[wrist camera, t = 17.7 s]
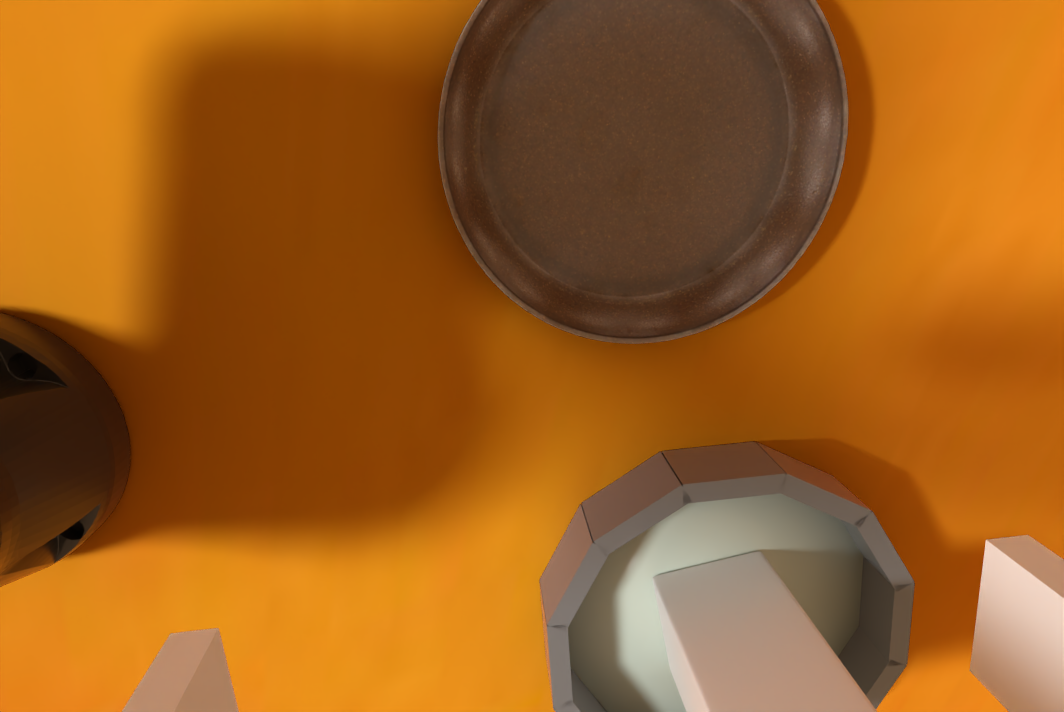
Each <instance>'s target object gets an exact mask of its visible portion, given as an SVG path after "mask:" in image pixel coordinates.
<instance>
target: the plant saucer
mask: <svg viewBox="0 0 1064 712" xmlns="http://www.w3.org/2000/svg"><path fill="white" fill-rule="evenodd" d="M847 134H848V96H847V88H846V81H845V75H844V70H843V65H842V61H841V58H840V55H839V51H838V47H837V44H836V41H835V38H834V36H833V33H832V32H831V29H830V26H829V24H828V22H827V20H826V18H825V16H824V14H823V12H822V10H821V8H820V7H819V5H818V3H817V2H816V0H481V1H480V2H479V4H478V6H477V7H476V9H475V10H474V12H473V13H472V15H471V17H470V19H469V20H468V22H467V23H466V25H465V27H464V29H463V31H462V33H461V35H460V37H459V40H458V42H457V44H456V47H455V49H454V52H453V54H452V57H451V60H450V63H449V66H448V69H447V73H446V77H445V80H444V84H443V89H442V95H441V101H440V108H439V118H438V155H439V164H440V171H441V177H442V182H443V187H444V191H445V195H446V198H447V202H448V205H449V208H450V211H451V214H452V216H453V219H454V222H455V224H456V226H457V228H458V230H459V232H460V234H461V236H462V238H463V240H464V242H465V244H466V246H467V248H468V249H469V251H470V253H471V254H472V256H473V257H474V259H475V260H476V262H477V263H478V264H479V266H480V267H481V268H482V269H483V271H484V272H485V273H486V275H487V276H488V277H489V278H490V279H491V280H492V281H493V282H494V283H495V284H496V286H497V287H498V288H499V289H500V290H501V291H502V292H503V293H505V294H506V295H507V296H508V297H509V298H510V299H511V300H513V301H514V302H515V303H516V304H518V305H519V306H520V307H522V308H523V309H524V310H526V311H528V312H529V313H531V314H532V315H534V316H535V317H537V318H539V319H541V320H542V321H544V322H546V323H548V324H550V325H552V326H554V327H556V328H559V329H561V330H564V331H566V332H569V333H572V334H575V335H578V336H581V337H585V338H589V339H594V340H599V341H604V342H614V343H629V344H640V343H653V342H662V341H669V340H673V339H678V338H682V337H685V336H689V335H692V334H696V333H699V332H701V331H704V330H707V329H709V328H712V327H714V326H716V325H718V324H720V323H722V322H724V321H726V320H728V319H730V318H732V317H734V316H735V315H737V314H739V313H740V312H742V311H743V310H745V309H746V308H748V307H750V306H751V305H752V304H754V303H755V302H756V301H758V300H759V299H760V298H762V297H763V296H764V295H765V294H767V293H768V292H769V291H770V290H771V289H772V288H773V287H775V286H776V285H777V284H778V283H779V282H780V281H781V280H782V279H783V278H784V277H785V275H786V274H787V273H788V272H789V271H790V270H791V269H792V268H793V266H794V265H795V264H796V262H797V261H798V260H799V259H800V257H801V256H802V255H803V253H804V252H805V250H806V249H807V248H808V246H809V245H810V244H811V242H812V240H813V238H814V237H815V235H816V233H817V231H818V230H819V228H820V226H821V224H822V222H823V220H824V218H825V216H826V214H827V211H828V210H829V207H830V205H831V203H832V200H833V197H834V194H835V191H836V189H837V186H838V182H839V179H840V175H841V171H842V167H843V162H844V156H845V149H846V142H847Z"/></svg>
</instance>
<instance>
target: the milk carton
mask: <svg viewBox="0 0 1064 712" xmlns="http://www.w3.org/2000/svg"><path fill="white" fill-rule="evenodd" d="M652 580H653V585H654V590H655V595H656V601H657V606H658V611H659V616H660V621H661V626H662V631H663V636H664V642H665V647H666V652H667V657H668V662H669V667H670V670H671V673H672V676H673V678H674V681H675V683H676V686H677V689H678V691H679V694H680V696H681V699H682V702H683V704H684V707H685V709H686V712H877V711H876V709H875V708H874V706H873V705H872V704H871V702H870V701H869V700H868V698H867V697H866V695H865V694H864V693H863V691H862V690H861V688H860V687H859V686H858V684H857V683H856V682H855V680H854V679H853V677H852V676H851V675H850V673H849V672H848V671H847V669H846V668H845V666H844V665H843V664H842V662H841V661H840V659H839V658H838V657H837V655H836V654H835V653H834V651H833V650H832V648H831V647H830V646H829V644H828V643H827V641H826V640H825V639H824V637H823V636H822V635H821V633H820V632H819V630H818V629H817V628H816V626H815V625H814V624H813V622H812V621H811V619H810V618H809V617H808V615H807V614H806V612H805V611H804V610H803V608H802V607H801V606H800V604H799V603H798V601H797V600H796V599H795V597H794V596H793V594H792V593H791V592H790V590H789V589H788V588H787V586H786V585H785V583H784V582H783V581H782V579H781V578H780V577H779V575H778V574H777V572H776V571H775V570H774V568H773V567H772V565H771V564H770V563H769V561H768V560H767V559H766V557H765V556H764V554H763V553H762V552H760V551H757V552H752V553H747V554H743V555H739V556H735V557H731V558H727V559H722V560H718V561H714V562H710V563H706V564H702V565H697V566H693V567H689V568H685V569H681V570H677V571H673V572H668V573H664V574H660V575H657V576H654V577H653V578H652Z"/></svg>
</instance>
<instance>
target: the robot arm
mask: <svg viewBox="0 0 1064 712" xmlns="http://www.w3.org/2000/svg"><path fill="white" fill-rule="evenodd" d="M129 468H130V441H129V435H128V430H127V426H126V423H125V419H124V416H123V414H122V411H121V409H120V406H119V404H118V402H117V400H116V398H115V396H114V395H113V393H112V391H111V390H110V388H109V387H108V385H107V384H106V382H105V381H104V379H103V378H102V377H101V376H100V374H99V373H98V372H97V371H96V370H95V368H94V367H93V366H92V365H91V364H90V363H89V362H88V361H87V360H86V359H85V358H84V357H83V356H82V355H81V354H79V353H78V352H77V351H76V350H75V349H74V348H72V347H71V346H70V345H68V344H67V343H66V342H64V341H63V340H61V339H60V338H58V337H57V336H55V335H53V334H52V333H50V332H48V331H46V330H45V329H43V328H41V327H39V326H37V325H34V324H32V323H30V322H27V321H25V320H22V319H20V318H17V317H14V316H11V315H7V314H4V313H0V587H1V586H4V585H6V584H8V583H11V582H13V581H16V580H18V579H20V578H23V577H25V576H28V575H30V574H33V573H35V572H37V571H40V570H42V569H44V568H47V567H49V566H51V565H53V564H55V563H56V562H58V561H60V560H61V559H63V558H64V557H66V556H68V555H69V554H70V553H72V552H73V551H74V550H76V549H77V548H78V547H79V546H81V545H82V544H83V543H84V542H85V541H86V540H87V539H88V538H89V537H90V536H91V535H92V534H93V533H94V532H95V531H96V530H97V529H98V528H99V527H100V526H101V525H102V524H103V523H104V522H105V521H106V520H107V518H108V517H109V516H110V515H111V513H112V512H113V510H114V509H115V507H116V506H117V504H118V502H119V500H120V498H121V496H122V494H123V492H124V489H125V486H126V483H127V479H128V475H129ZM970 671H971V672H972V673H973V675H974V676H975V677H976V678H977V679H978V680H979V681H980V682H981V683H982V684H983V685H984V686H985V687H986V688H987V689H988V690H989V691H990V692H991V693H992V694H993V695H994V696H995V697H996V699H997V700H998V701H999V702H1000V703H1001V704H1002V705H1003V706H1004V707H1005V708H1006V709H1007V710H1008V711H1009V712H1064V559H1062V558H1061V557H1059V556H1058V555H1056V554H1055V553H1053V552H1052V551H1051V550H1049V549H1048V548H1046V547H1045V546H1043V545H1042V544H1040V543H1039V542H1037V541H1036V540H1035V539H1033V538H1032V537H1030V536H1029V535H1022V536H1014V537H1005V538H996V539H988V540H986V544H985V552H984V560H983V568H982V576H981V584H980V592H979V600H978V608H977V616H976V624H975V632H974V640H973V648H972V656H971V664H970ZM122 712H239V711H238V707H237V703H236V699H235V695H234V690H233V686H232V682H231V678H230V674H229V670H228V665H227V661H226V657H225V653H224V649H223V645H222V640H221V636H220V632H219V628H215V629H206V630H197V631H189V632H180V633H171V634H170V635H169V637H168V639H167V640H166V642H165V643H164V645H163V647H162V648H161V650H160V651H159V653H158V655H157V656H156V658H155V659H154V661H153V663H152V664H151V666H150V667H149V669H148V671H147V672H146V674H145V675H144V677H143V679H142V680H141V682H140V683H139V685H138V687H137V688H136V690H135V691H134V693H133V695H132V696H131V698H130V699H129V701H128V703H127V704H126V706H125V707H124V709H123V711H122Z"/></svg>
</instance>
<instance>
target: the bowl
mask: <svg viewBox="0 0 1064 712" xmlns="http://www.w3.org/2000/svg"><path fill="white" fill-rule="evenodd" d="M757 551H760V552H762V553H763V554H764V556H765V557H766V559H767V560H768V561H769V563H770V564H771V565H772V567H773V568H774V570H775V571H776V572H777V574H778V575H779V577H780V578H781V579H782V581H783V582H784V583H785V585H786V586H787V588H788V589H789V590H790V592H791V593H792V594H793V596H794V597H795V599H796V600H797V601H798V603H799V604H800V606H801V607H802V608H803V610H804V611H805V612H806V614H807V615H808V617H809V618H810V619H811V621H812V622H813V624H814V625H815V626H816V628H817V629H818V630H819V632H820V633H821V635H822V636H823V637H824V639H825V640H826V641H827V643H828V644H829V646H830V647H831V648H832V650H833V651H834V653H835V654H836V655H837V657H838V658H839V659H840V661H841V662H842V664H843V665H844V666H845V668H846V669H847V671H848V672H849V673H850V675H851V676H852V677H853V679H854V680H855V682H856V683H857V684H858V686H859V687H860V688H861V690H862V691H863V693H864V694H865V695H866V697H867V698H868V700H869V701H870V702H871V704H872V705H873V706H874V708H875V709H876V708H877V707H878V705H879V704H880V703H881V701H882V700H883V698H884V697H885V696H886V694H887V693H888V691H889V690H890V688H891V687H892V686H893V684H894V683H895V681H896V680H897V678H898V677H899V676H900V674H901V673H902V671H903V670H904V669H905V667H906V666H907V665H906V664H907V660H908V650H909V639H910V628H911V618H912V607H913V596H914V585H915V583H914V580H913V579H912V577H911V575H910V574H909V572H908V570H907V568H906V567H905V565H904V563H903V562H902V560H901V558H900V557H899V555H898V553H897V552H896V550H895V548H894V547H893V545H892V543H891V542H890V540H889V538H888V537H887V535H886V533H885V532H884V530H883V528H882V527H881V525H880V523H879V521H878V520H877V518H876V516H875V515H874V513H873V511H871V510H870V509H869V508H868V507H867V506H866V505H865V504H864V503H863V502H861V501H860V500H859V499H858V498H857V497H856V496H855V495H854V494H853V493H851V492H850V491H849V490H848V489H847V488H846V487H845V486H844V485H843V484H841V483H840V482H839V481H838V480H837V479H836V478H835V477H834V476H832V475H830V474H828V473H826V472H823V471H821V470H819V469H817V468H814V467H812V466H810V465H808V464H805V463H803V462H801V461H799V460H796V459H794V458H792V457H790V456H787V455H785V454H783V453H781V452H778V451H776V450H774V449H772V448H769V447H767V446H765V445H763V444H760V443H758V442H755V441H753V442H743V443H733V444H724V445H714V446H705V447H695V448H686V449H676V450H667V451H662V453H661V452H659V453H657V454H656V455H654V456H653V457H651V458H650V459H648V460H646V461H645V462H643V463H642V464H640V465H639V466H637V467H636V468H634V469H633V470H631V471H630V472H628V473H627V474H625V475H623V476H622V477H620V478H619V479H617V480H616V481H614V482H613V483H611V484H610V485H608V486H607V487H605V488H604V489H602V490H600V491H599V492H597V493H596V494H594V495H593V496H591V497H590V498H588V499H587V500H585V501H584V502H582V504H580V506H579V508H578V509H577V511H576V513H575V515H574V517H573V519H572V521H571V522H570V524H569V526H568V528H567V530H566V532H565V534H564V535H563V537H562V539H561V541H560V543H559V545H558V547H557V548H556V550H555V552H554V554H553V556H552V558H551V560H550V561H549V563H548V565H547V567H546V569H545V571H544V573H543V574H542V576H541V578H540V593H541V605H542V617H543V628H544V640H545V652H546V661H547V668H548V675H549V682H550V689H551V695H552V702H553V708H554V710H555V711H556V712H686V709H685V707H684V704H683V702H682V699H681V696H680V694H679V691H678V689H677V686H676V683H675V681H674V678H673V676H672V673H671V670H670V667H669V662H668V657H667V652H666V647H665V642H664V636H663V631H662V626H661V621H660V616H659V611H658V606H657V601H656V595H655V590H654V585H653V580H652V578H653V577H654V576H657V575H660V574H664V573H668V572H673V571H677V570H681V569H685V568H689V567H693V566H697V565H702V564H706V563H710V562H714V561H718V560H722V559H727V558H731V557H735V556H739V555H743V554H747V553H752V552H757Z"/></svg>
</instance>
